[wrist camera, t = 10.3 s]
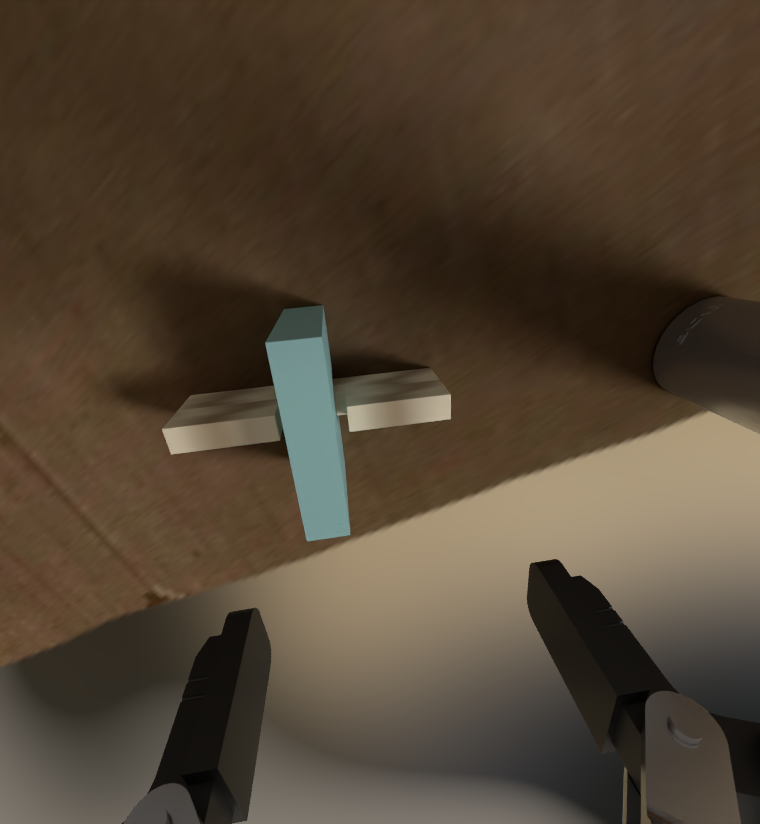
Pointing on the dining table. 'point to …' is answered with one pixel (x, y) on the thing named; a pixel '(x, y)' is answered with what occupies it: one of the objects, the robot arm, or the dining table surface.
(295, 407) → the teal cross plate
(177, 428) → the maple base plate
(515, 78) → the dining table surface
